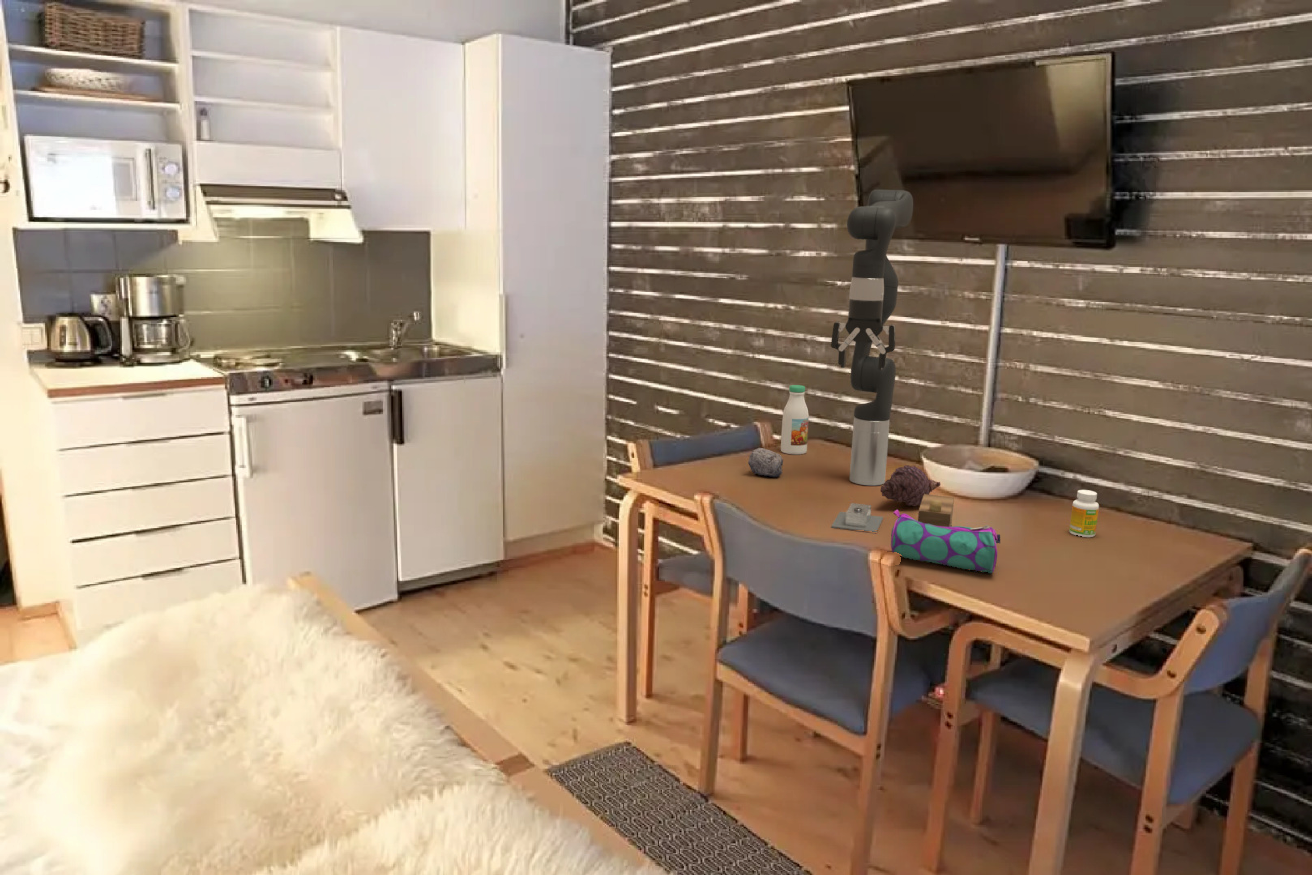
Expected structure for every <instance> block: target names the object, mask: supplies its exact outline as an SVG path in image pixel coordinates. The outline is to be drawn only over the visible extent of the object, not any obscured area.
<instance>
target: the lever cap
mask: <svg viewBox="0 0 1312 875" xmlns="http://www.w3.org/2000/svg"><path fill="white" fill-rule="evenodd" d="M845 512H846V522H845V525H848V526H856V527H864V528H866V526H867V524H868V522H869V519H870V515H871V514H872V505H871V504H870V505H869V504H862V503H853V502H851V503H850V505H849V506H848V509H847V510H846V511H845Z"/></svg>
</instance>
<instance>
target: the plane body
mask: <svg viewBox="0 0 1312 875" xmlns="http://www.w3.org/2000/svg"><path fill="white" fill-rule="evenodd" d="M954 502H955V497H954V496H945V495H938V494H937V495H936V494H930V493H929V494H924V496H923V499H922V502H921V505H919V508H918V513H917V514H918V516H917V521H919V522H922V523H926V524H931V525H935V526H941V527H953V523H952V522H953V515H954V513H953V512H954Z"/></svg>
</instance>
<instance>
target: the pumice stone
mask: <svg viewBox="0 0 1312 875" xmlns="http://www.w3.org/2000/svg"><path fill="white" fill-rule="evenodd" d="M747 463H748V466H749V468H750V470H751V471H752V473H753V474H754V475H755V474H758V475H757V476H760V475H764V476H763V477H767V476H769V477H768V478H779V477H780V476H781V475H782V474H783V468H782V466H784V458H783V456H781V454H779V453H776V452H774V451H772V450H769V449H766V448H764V447H763V448H762V447H758V448H755V449H753V450H752V451H751V453H750V455H749V459H748V462H747Z"/></svg>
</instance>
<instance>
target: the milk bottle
mask: <svg viewBox="0 0 1312 875" xmlns="http://www.w3.org/2000/svg"><path fill="white" fill-rule="evenodd" d="M788 389H789V392H788V393H789V398H788V399H787V402H786V405H785V406H784V408H783V413H782V423H781V434H780V435H781V437H780V438H781V439H780V440H781V441H780V451H781V453H784V454H789V455H803V454H806V453H807V452H808V439H809V421H810V420H809V416H810V415H809V414H810V413H809V410H808V407H807V404H806V401H805V394H806V386H805V385H801V384H792V385H789V388H788Z"/></svg>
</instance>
